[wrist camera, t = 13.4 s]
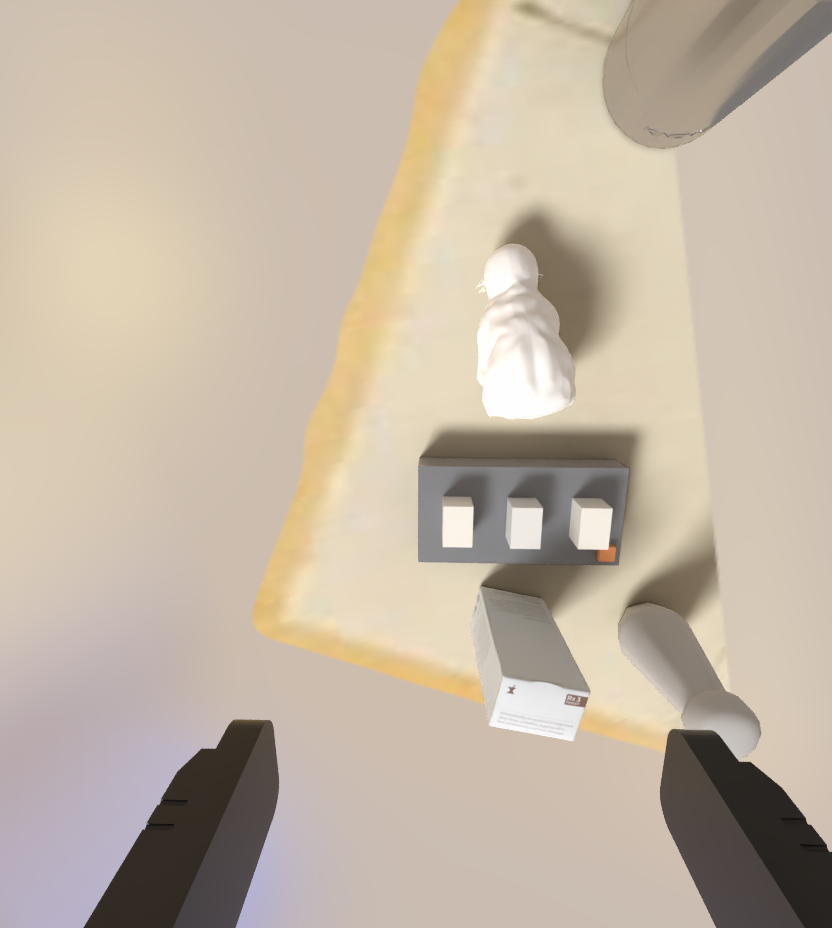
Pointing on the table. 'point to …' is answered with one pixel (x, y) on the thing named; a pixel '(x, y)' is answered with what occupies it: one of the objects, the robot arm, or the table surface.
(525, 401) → the whiskered white figurine
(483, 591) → the skincare box
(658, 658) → the salt shaker
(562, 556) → the panel
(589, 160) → the table surface
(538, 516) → the block
